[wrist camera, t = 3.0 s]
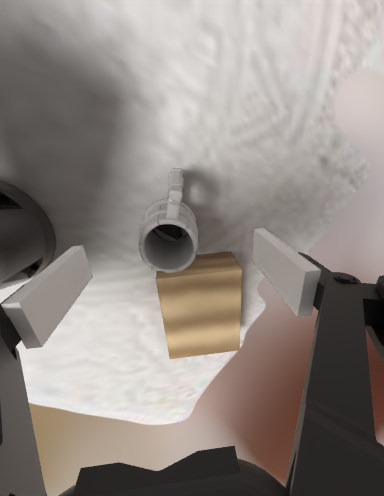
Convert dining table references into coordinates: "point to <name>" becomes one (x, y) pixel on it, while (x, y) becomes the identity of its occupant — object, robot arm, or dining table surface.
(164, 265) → the mug
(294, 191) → the dining table surface
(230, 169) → the dining table surface
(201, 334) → the wooden block
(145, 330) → the dining table surface
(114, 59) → the dining table surface
